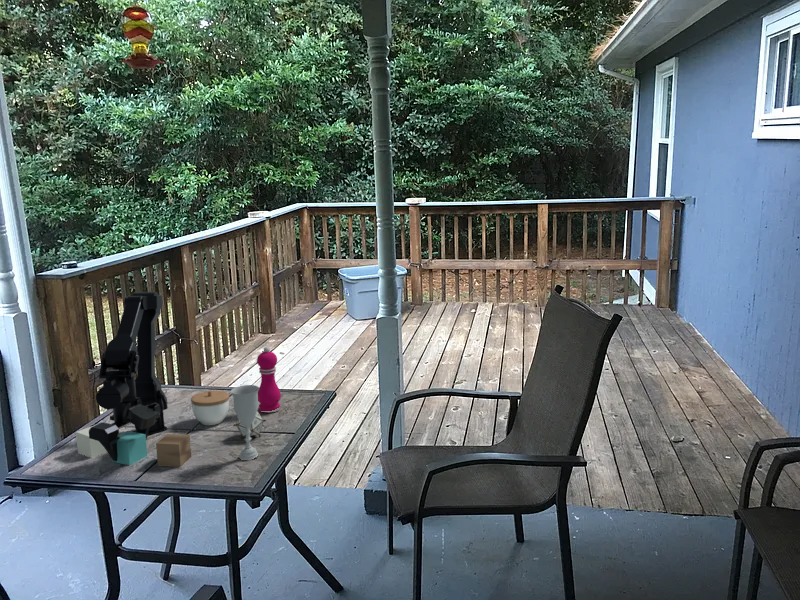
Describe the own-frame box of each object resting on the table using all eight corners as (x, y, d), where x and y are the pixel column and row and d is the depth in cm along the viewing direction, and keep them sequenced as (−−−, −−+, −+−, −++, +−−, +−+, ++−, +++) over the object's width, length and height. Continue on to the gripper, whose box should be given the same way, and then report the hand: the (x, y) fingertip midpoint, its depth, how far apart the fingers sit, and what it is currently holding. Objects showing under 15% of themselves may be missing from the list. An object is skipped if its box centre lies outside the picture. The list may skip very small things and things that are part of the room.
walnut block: (169, 455, 170) (167, 433, 169) (191, 456, 169) (189, 434, 168) (157, 465, 164) (155, 443, 163) (180, 467, 163) (178, 444, 162)
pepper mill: (258, 415, 198) (255, 350, 194) (256, 407, 205) (253, 345, 201) (282, 412, 200) (279, 348, 196) (280, 404, 207) (277, 343, 203)
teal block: (129, 452, 172) (127, 431, 171) (147, 456, 170) (145, 434, 169) (111, 461, 167) (109, 439, 166) (129, 465, 165) (127, 443, 163)
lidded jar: (187, 420, 194) (185, 390, 192) (222, 412, 201) (220, 382, 199) (200, 431, 186) (198, 399, 184) (236, 422, 192) (234, 391, 190)
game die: (254, 446, 185) (269, 412, 188) (259, 446, 177) (274, 411, 180) (224, 433, 182) (240, 400, 186) (228, 433, 175) (244, 398, 178)
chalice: (246, 449, 173) (242, 383, 170) (268, 453, 171) (264, 386, 168) (229, 460, 167) (225, 392, 163) (252, 464, 164) (248, 395, 161)
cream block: (99, 445, 177) (97, 424, 176) (112, 450, 174) (110, 428, 173) (78, 453, 172) (75, 431, 171) (91, 458, 169) (89, 436, 168)
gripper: (119, 411, 154) (125, 474, 157) (175, 387, 171) (179, 444, 174) (84, 405, 158) (90, 466, 161) (142, 383, 175) (146, 438, 178)
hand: (129, 453), depth 168 cm, fingers open, 9 cm apart
